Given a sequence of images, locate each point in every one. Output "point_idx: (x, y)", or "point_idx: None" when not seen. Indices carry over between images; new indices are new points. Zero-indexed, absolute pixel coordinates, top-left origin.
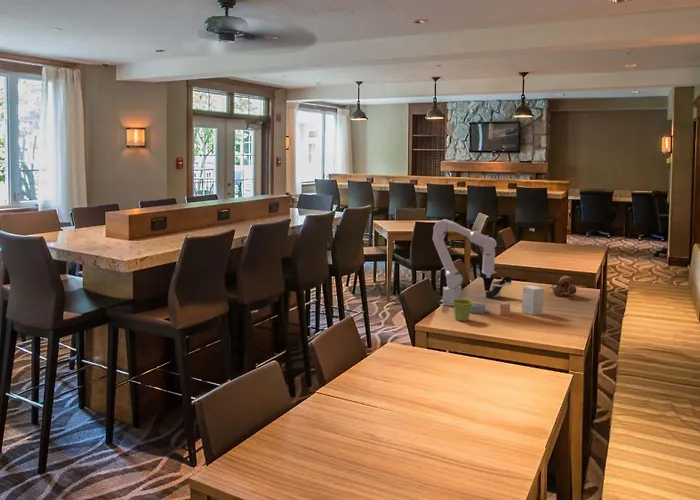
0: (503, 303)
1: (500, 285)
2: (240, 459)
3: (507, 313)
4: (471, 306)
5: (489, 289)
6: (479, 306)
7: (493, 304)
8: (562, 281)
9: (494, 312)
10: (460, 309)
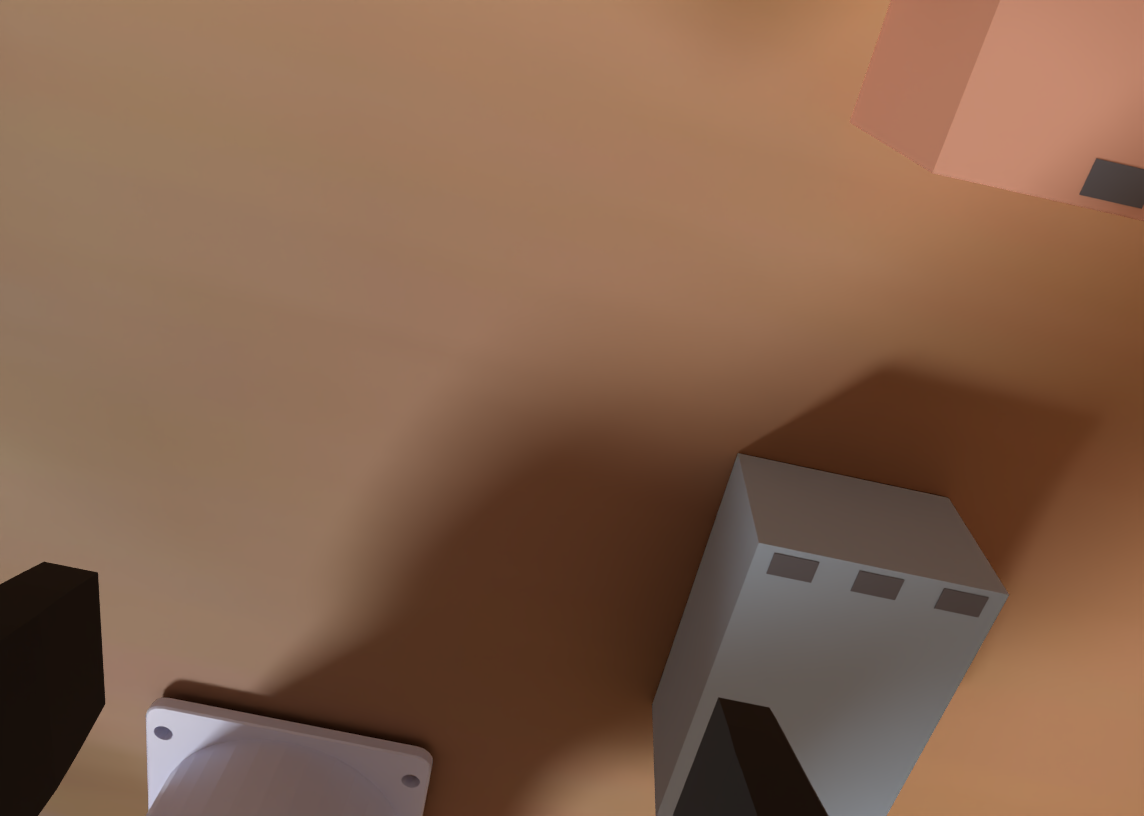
0: (1114, 88)
1: None
2: None
3: None
4: (883, 796)
5: (794, 767)
6: (954, 685)
7: (38, 52)
8: None
9: (868, 257)
10: None
